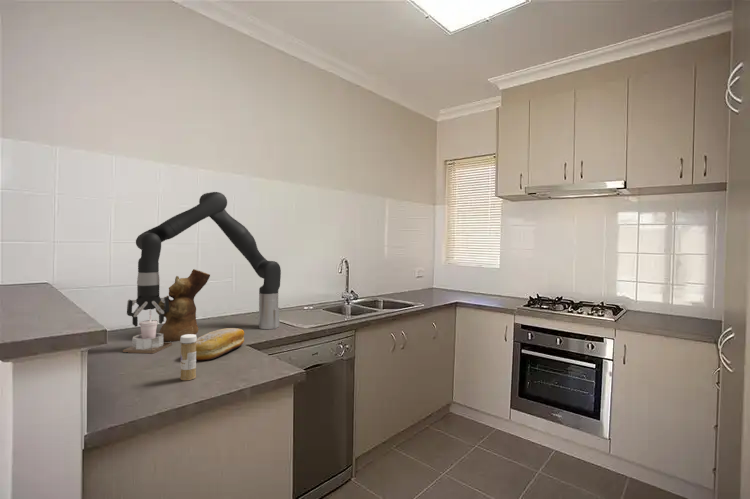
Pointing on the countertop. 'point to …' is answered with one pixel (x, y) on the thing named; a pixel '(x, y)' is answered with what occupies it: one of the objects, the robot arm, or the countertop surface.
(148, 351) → the duct collar
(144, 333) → the smoothie
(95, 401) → the countertop surface
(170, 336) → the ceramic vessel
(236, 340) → the bread
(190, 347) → the sprinkles bottle
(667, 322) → the countertop surface
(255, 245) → the robot arm
